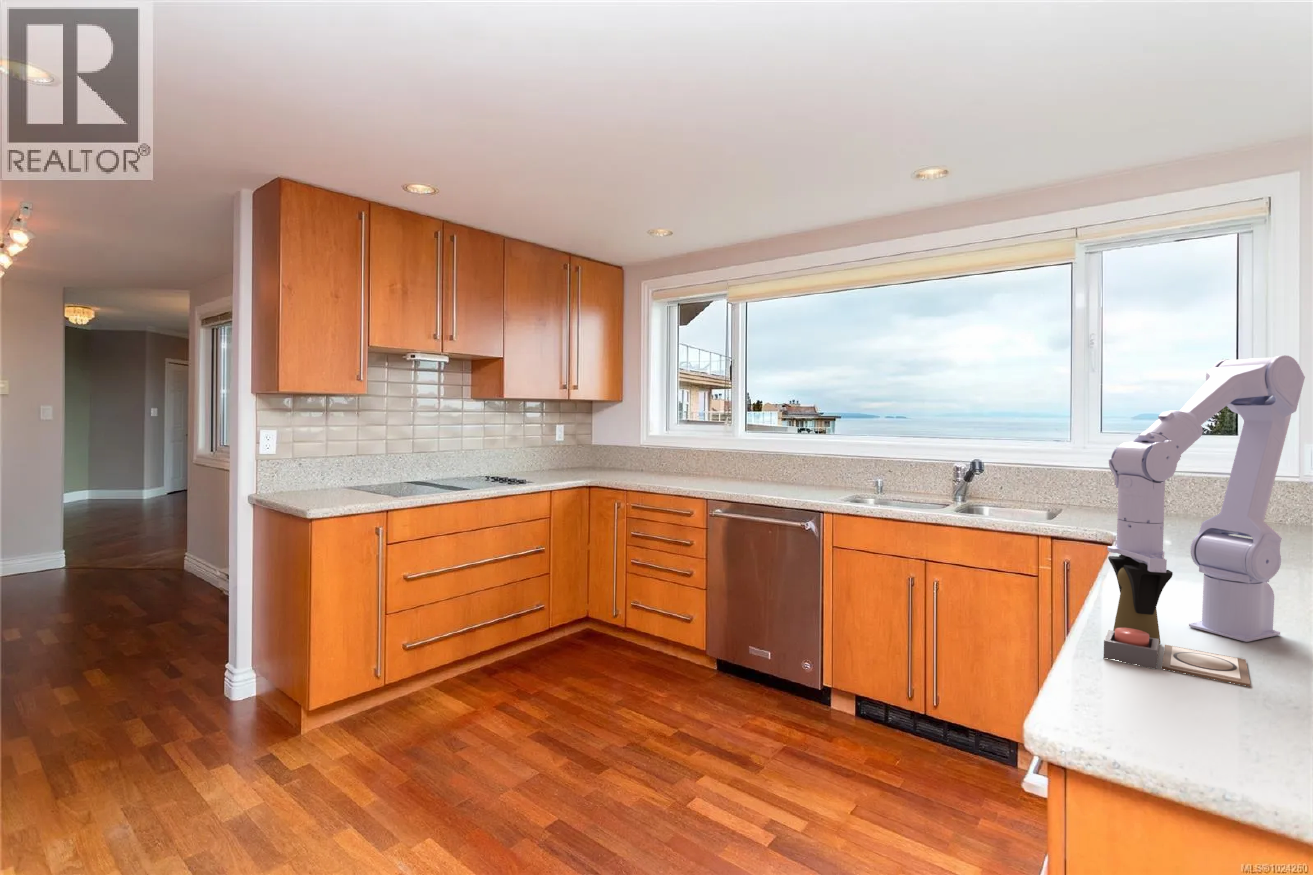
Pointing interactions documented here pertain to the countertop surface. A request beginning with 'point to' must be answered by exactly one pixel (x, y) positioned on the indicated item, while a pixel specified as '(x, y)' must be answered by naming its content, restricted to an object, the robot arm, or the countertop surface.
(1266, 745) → the countertop surface
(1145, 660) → the button housing
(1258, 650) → the countertop surface
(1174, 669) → the sketch board
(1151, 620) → the brown tapered cone
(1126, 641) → the button
